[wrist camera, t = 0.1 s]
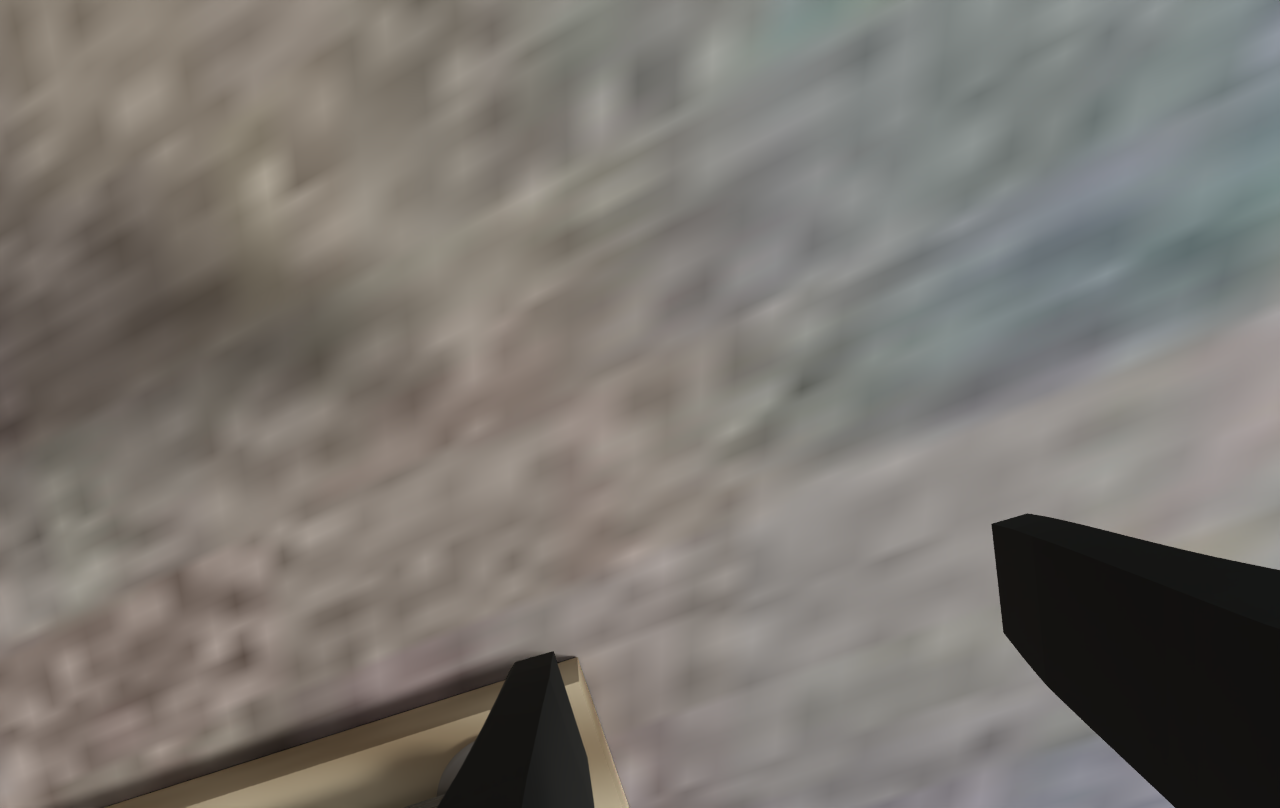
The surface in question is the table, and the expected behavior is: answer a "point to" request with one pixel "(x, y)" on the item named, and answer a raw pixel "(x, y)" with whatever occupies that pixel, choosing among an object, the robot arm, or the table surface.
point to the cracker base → (385, 760)
